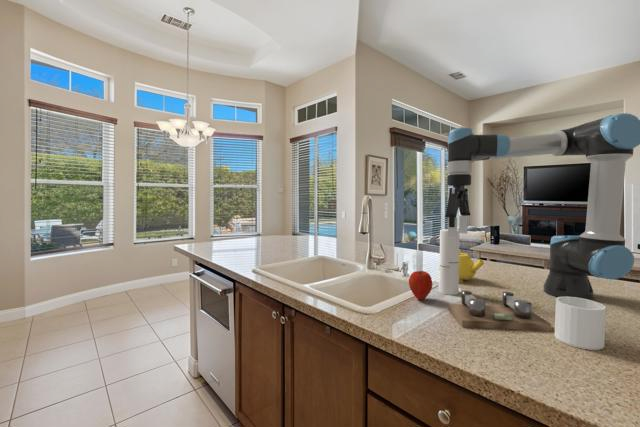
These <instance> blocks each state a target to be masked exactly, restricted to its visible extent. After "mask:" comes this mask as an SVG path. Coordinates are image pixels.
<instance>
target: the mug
mask: <svg viewBox="0 0 640 427" xmlns="http://www.w3.org/2000/svg"><path fill="white" fill-rule="evenodd" d="M554 315H555V316H554V317H555V318H554V337H555V339H557V341H559V342H560V341H561V343H562V342H563V343H562V344H564V343H565V344H564V345H567V346H569V345H570V346H571V347H573V348H576V347H577V348H576V349H580V348H582V349H581V350H585V349H588V350H587V351H600V349H601V350H603V349H604V348H605V338H606V335H605V334H606V320H607V318H606V317H607V306H606V305H605V304H603V303H601V302H599V301H594V300H593V299H591V300H588V299H583V298H577V297H557V296H556V298H555V314H554Z"/></svg>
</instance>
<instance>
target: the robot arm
mask: <svg viewBox="0 0 640 427" xmlns="http://www.w3.org/2000/svg"><path fill="white" fill-rule="evenodd" d="M447 137H448V138H447V165H445V167H446V169H447V174H448V175H447V178H446V180H447V184H446V185H447V186H448V187H449V192H448V198H447V200H448V201H447V205H446V210H445V212H446V213H445V216H444V217H445V218H447V229H448V237H457V230H459V233H460V234H468V226H469V225H468V218H469V217H470V216H471V212H470V205H469V196H468V195H469V194H468V191H469V189H468V188H466V186H467V187H468V186H471V185H472V175H471V173H472V170H473V169H472V166H473V165H472V163H474V162H478V161H489V160H498V159H510V158H522V157H533V156H545V155H552V156H554V157H561V156H562V157H563V156H585V159H586V160H587V161H588V162H590V171H589V183H588V194H587V195H588V196H587V207H586V218H585V219H586V220H585V230H584V232H582V233H581V234H580V235H553V236H551V238H550V243H549V272H548V275H547V277H546V279H545V282H544V284H543V292H544V293H546V294H547V295H551V296H553V297H556V298H557V297H577V298H583V299H588V300H593V299H594V294H595V292H594V289H593V287H592V284H591V282H590V278H589V275H591V276H593V277H596V278H599V279H606V280H617V279H620V278H623V277H624V276H625V275H627V274H629V273H630V271H631V270H632V269H633V266H634V264H635V256H634V253H633V252H631V249H629V248H627V247H626V238H625V237H623V235H621V232H620V231H621V221H622V220H621V219H622V211H623V209H622V208H623V198H624V184H625V175H626V166H627V164H626V163H627V161H628V160H629V159H631V158H632V157H633V156H634V149H635V148H637V147H638V146H640V119H639V118H638V116H636V115H634V114H631V113H627V112H626V113H617V114H614V115H613V114H611V115H608V116H605V117H602V118H600V119H595V120H592V121H589V122H585V123H583V124H579V125H577V126H572V127H570V128H565V129H558V130H555V131H553V132H552V133H547V134H546V133H545V134H535V135H525V136H524V135H523V136H517V137H516V136H515V137H513V136H512V137H509V136H508V135H507V134H500V133H499V134H498V133H496V134H474V133H473V130H472V128H471V127H458V128H453V129H451V130H450V131H449V132H448V136H447ZM450 186H451V187H450ZM458 211H459V214H460V215H458ZM457 215H458V216H459V218H458V217H457ZM458 220H459V222H458ZM458 224H459V225H458Z"/></svg>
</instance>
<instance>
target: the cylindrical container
mask: <svg viewBox="0 0 640 427" xmlns="http://www.w3.org/2000/svg"><path fill="white" fill-rule="evenodd" d="M460 234H461V233H459V229H457V237H448V228H446V229H444V228H442V229H439V265H440V268H439V267H438V271H439V274H438V275H439V278H438V281H439V282H438V283H439V284H438V286H439V287H438V291H439V293H441V294H444V295H447V296H448V295H449V296H456V295H458V294H459V290H460V288H459V286H460V283H459V250H460Z"/></svg>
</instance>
